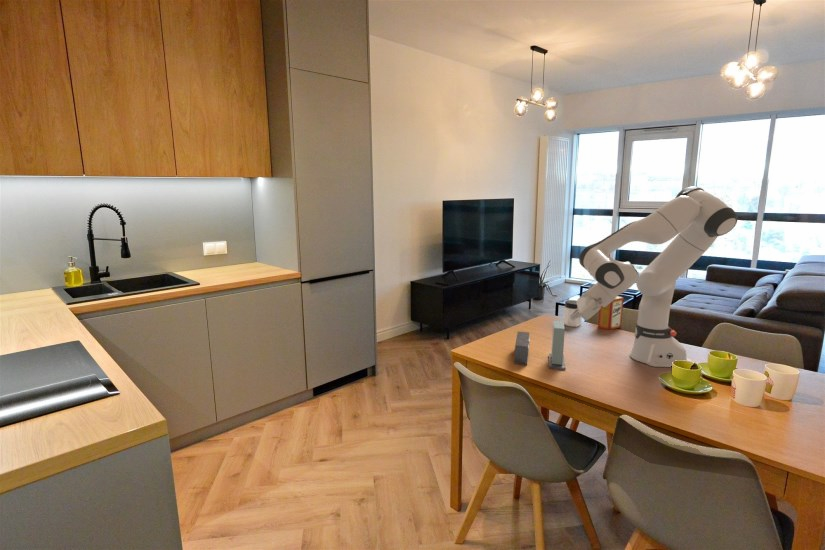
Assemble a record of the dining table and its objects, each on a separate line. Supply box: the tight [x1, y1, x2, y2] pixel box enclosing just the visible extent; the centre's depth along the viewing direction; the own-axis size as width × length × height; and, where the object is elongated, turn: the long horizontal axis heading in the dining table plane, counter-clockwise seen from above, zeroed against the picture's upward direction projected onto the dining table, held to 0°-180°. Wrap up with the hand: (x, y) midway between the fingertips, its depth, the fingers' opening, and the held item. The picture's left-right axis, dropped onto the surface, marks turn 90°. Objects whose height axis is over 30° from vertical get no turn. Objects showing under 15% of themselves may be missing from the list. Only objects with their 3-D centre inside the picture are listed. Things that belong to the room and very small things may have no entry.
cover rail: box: [548, 353, 566, 371], centre depth 180 cm, size 6×14×1 cm, turn 164°
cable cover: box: [551, 320, 566, 365], centre depth 178 cm, size 4×10×15 cm, turn 164°
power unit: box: [514, 331, 531, 366], centre depth 186 cm, size 5×18×8 cm, turn 164°
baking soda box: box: [597, 295, 624, 331], centre depth 222 cm, size 10×6×16 cm
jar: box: [562, 299, 583, 328], centre depth 228 cm, size 9×8×12 cm
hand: (571, 318), depth 174 cm, fingers closed
